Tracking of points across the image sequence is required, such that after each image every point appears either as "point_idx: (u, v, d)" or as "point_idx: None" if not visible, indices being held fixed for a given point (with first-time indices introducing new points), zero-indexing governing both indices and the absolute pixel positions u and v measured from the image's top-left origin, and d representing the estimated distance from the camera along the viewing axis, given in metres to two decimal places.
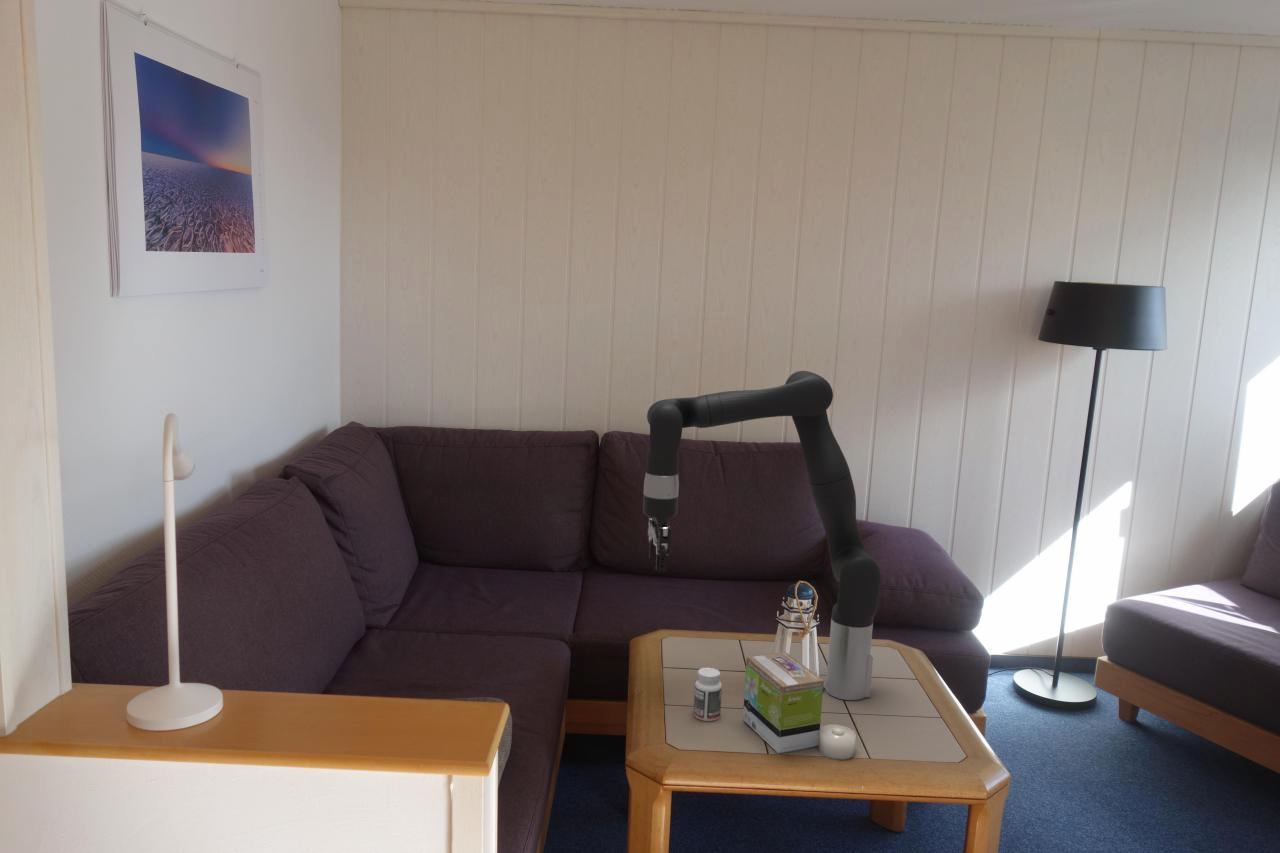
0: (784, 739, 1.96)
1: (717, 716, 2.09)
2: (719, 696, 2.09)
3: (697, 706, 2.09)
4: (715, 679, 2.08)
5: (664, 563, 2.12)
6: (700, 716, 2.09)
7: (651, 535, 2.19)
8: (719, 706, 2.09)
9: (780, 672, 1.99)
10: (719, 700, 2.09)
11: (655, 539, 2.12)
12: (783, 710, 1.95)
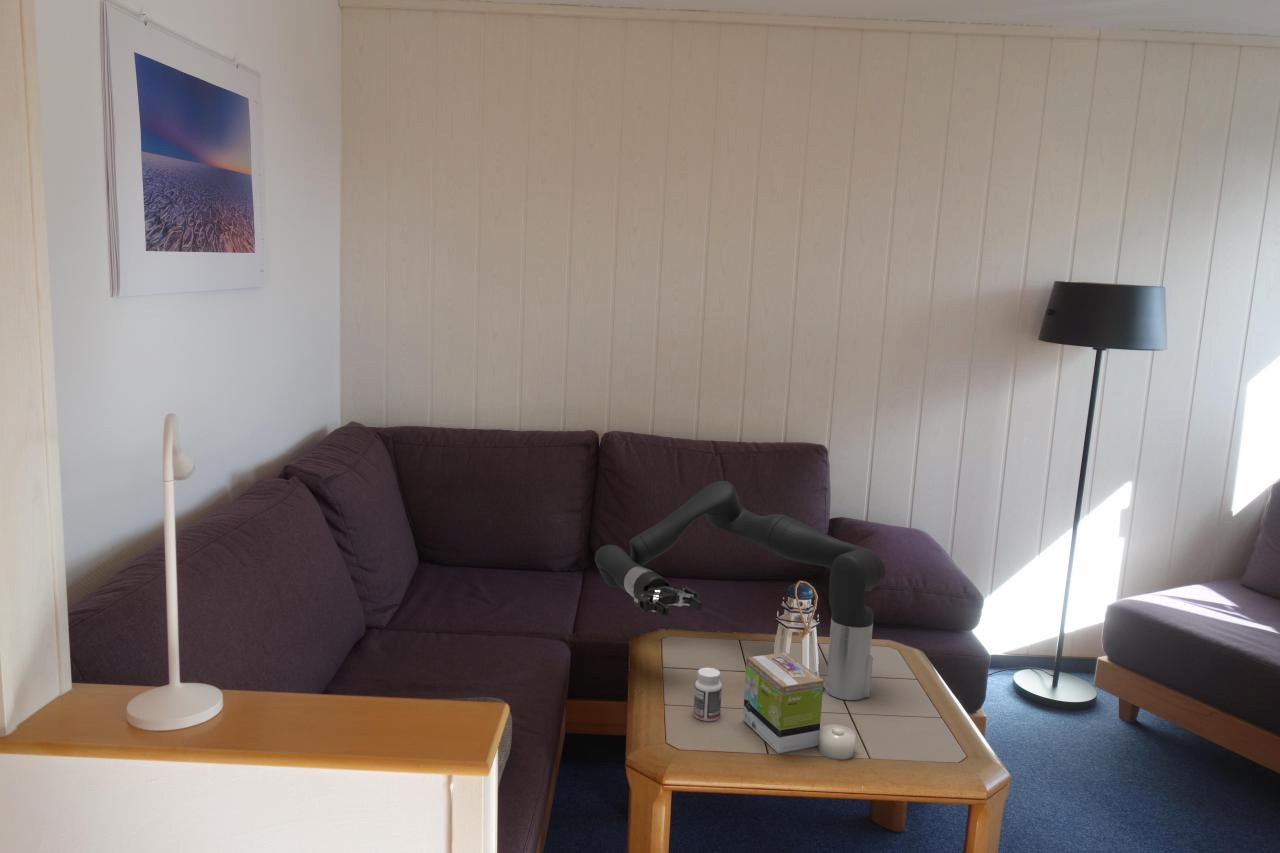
0: (784, 739, 1.96)
1: (717, 716, 2.09)
2: (719, 696, 2.09)
3: (697, 706, 2.09)
4: (715, 679, 2.08)
5: None
6: (700, 716, 2.09)
7: (658, 597, 2.21)
8: (719, 706, 2.09)
9: (780, 672, 1.99)
10: (719, 700, 2.09)
11: None
12: (783, 710, 1.95)
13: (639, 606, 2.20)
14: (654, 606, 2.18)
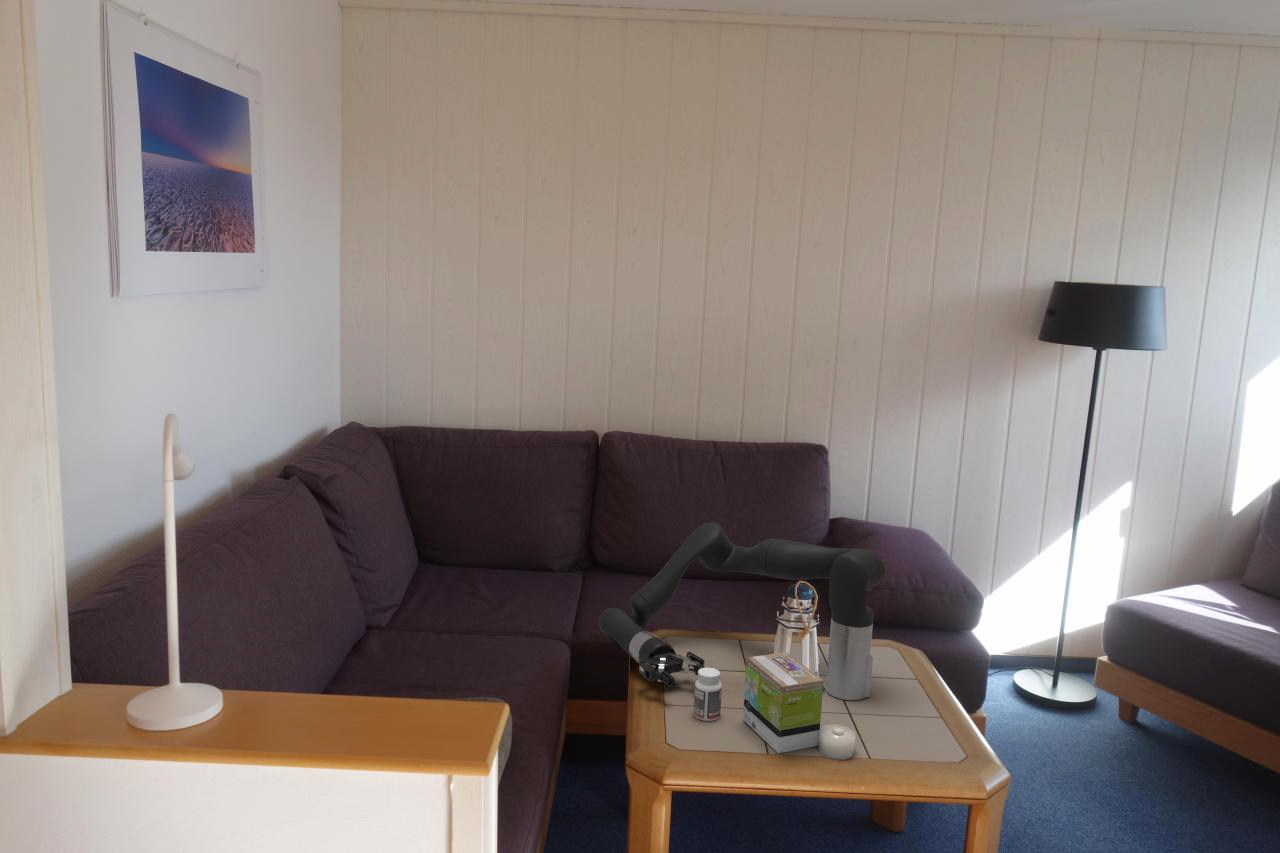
0: (784, 739, 1.96)
1: (717, 716, 2.09)
2: (719, 696, 2.09)
3: (697, 706, 2.09)
4: (715, 679, 2.08)
5: None
6: (700, 716, 2.09)
7: (664, 666, 2.19)
8: (719, 706, 2.09)
9: (780, 672, 1.99)
10: (719, 700, 2.09)
11: None
12: (783, 710, 1.95)
13: (645, 675, 2.19)
14: (660, 676, 2.16)
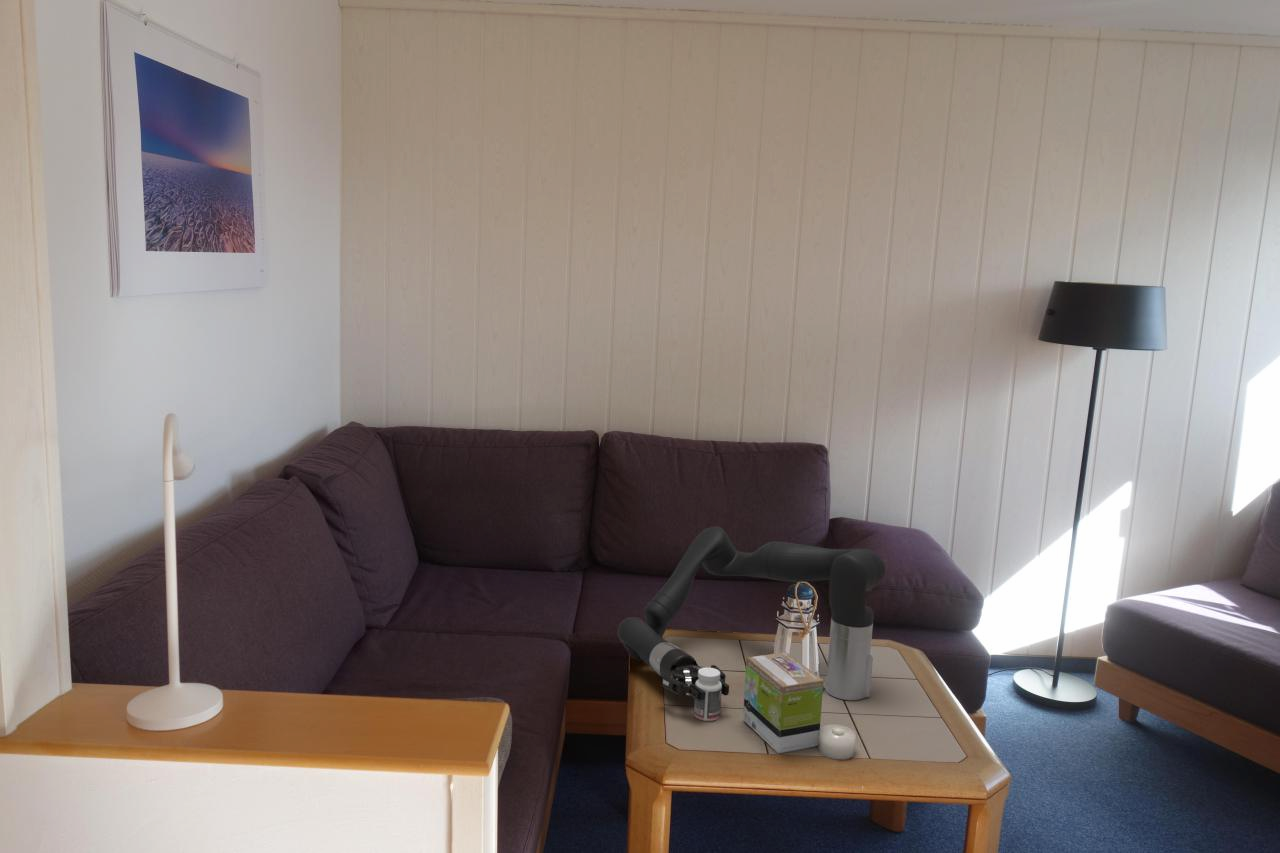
0: (784, 739, 1.96)
1: (717, 716, 2.09)
2: (719, 696, 2.09)
3: (697, 706, 2.09)
4: (715, 679, 2.08)
5: None
6: (700, 716, 2.09)
7: None
8: (719, 706, 2.09)
9: (780, 672, 1.99)
10: (719, 700, 2.09)
11: None
12: (783, 710, 1.95)
13: (671, 689, 2.11)
14: (688, 689, 2.09)
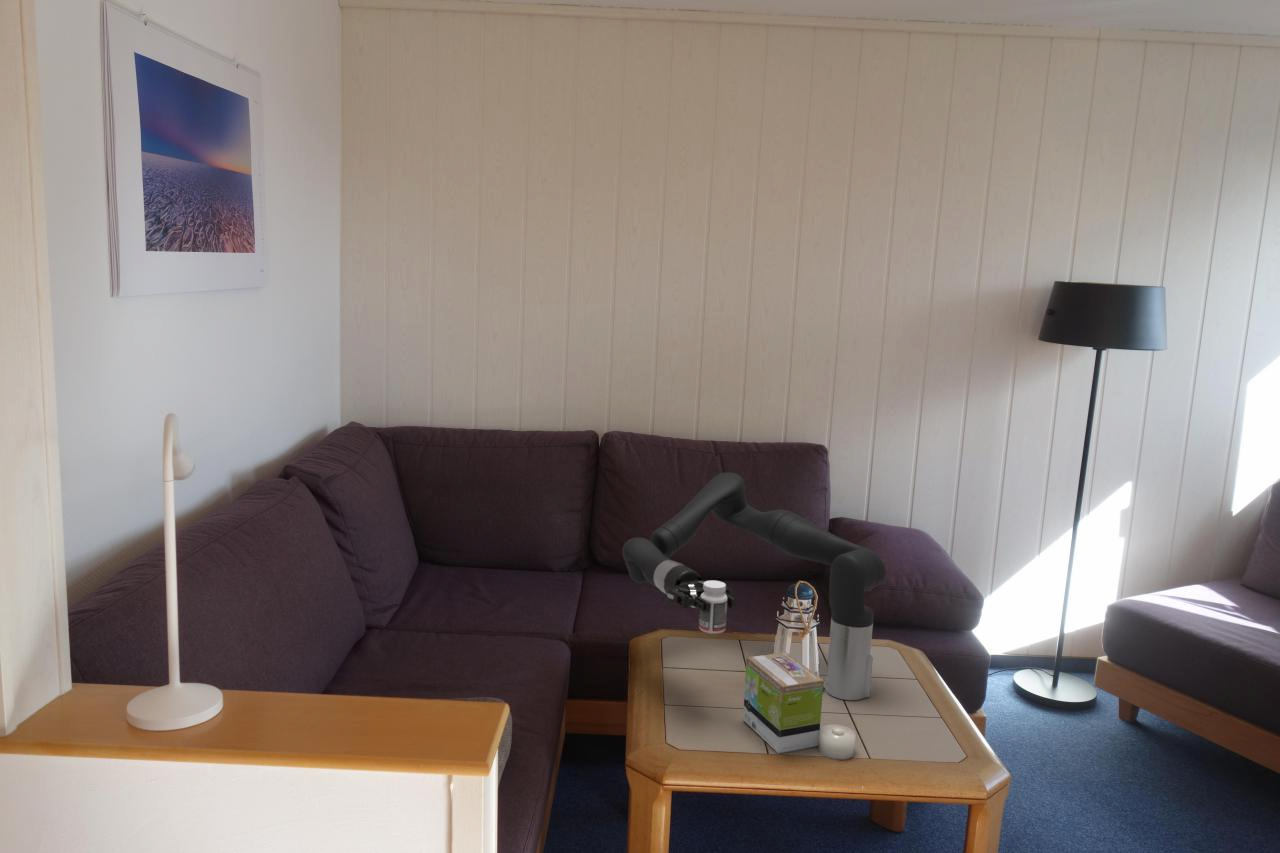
0: (784, 739, 1.96)
1: (723, 629, 2.06)
2: (725, 608, 2.06)
3: (703, 618, 2.06)
4: (721, 590, 2.05)
5: None
6: (705, 629, 2.06)
7: None
8: (725, 619, 2.06)
9: (780, 672, 1.99)
10: (725, 612, 2.06)
11: None
12: (783, 710, 1.95)
13: (676, 602, 2.08)
14: (694, 601, 2.06)
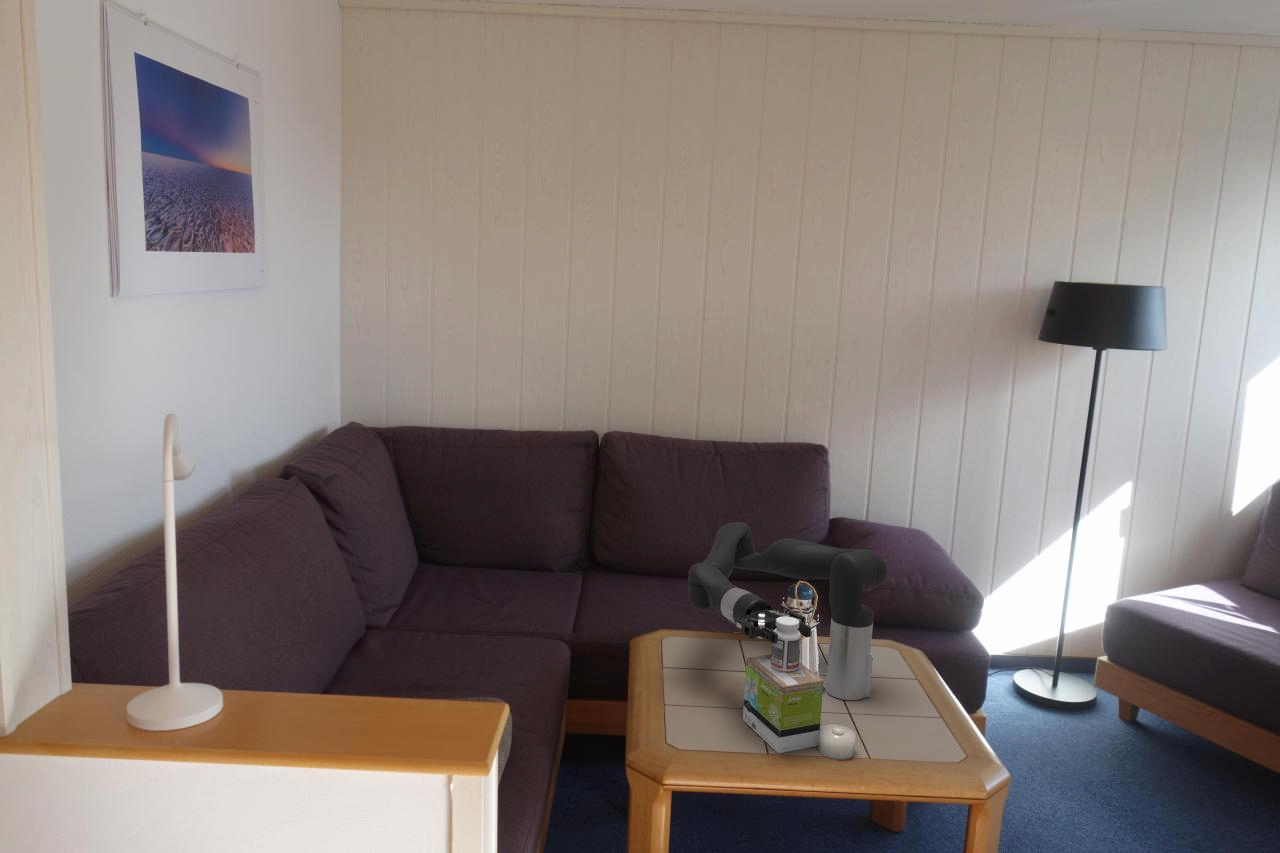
0: (784, 739, 1.96)
1: (796, 666, 2.00)
2: (798, 645, 2.00)
3: (776, 656, 2.00)
4: (795, 627, 1.99)
5: None
6: (778, 666, 2.00)
7: (764, 622, 2.03)
8: (798, 656, 2.00)
9: (780, 673, 1.99)
10: (798, 649, 2.00)
11: None
12: (783, 710, 1.95)
13: (743, 632, 2.02)
14: (761, 632, 2.00)
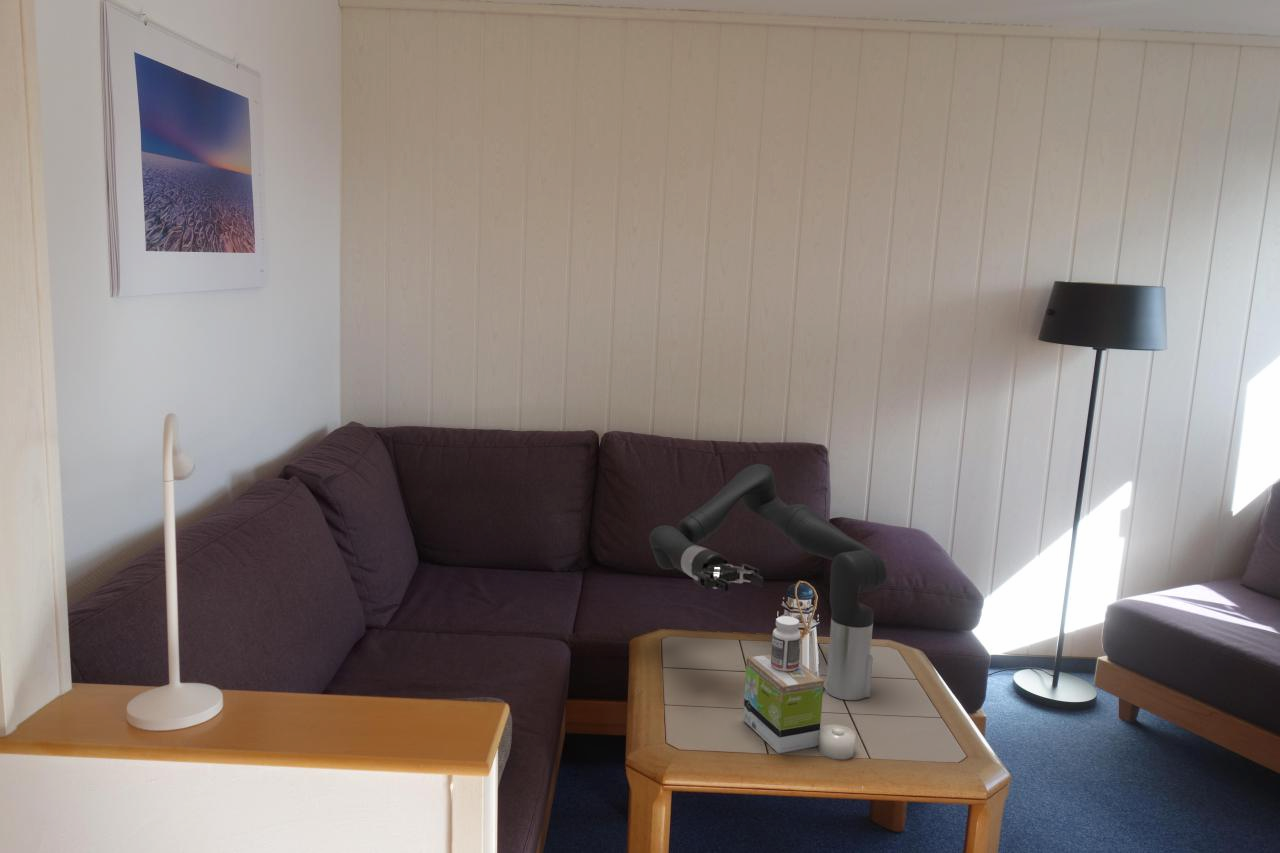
0: (784, 739, 1.96)
1: (796, 666, 2.00)
2: (798, 645, 2.00)
3: (776, 656, 2.00)
4: (795, 627, 1.99)
5: None
6: (778, 666, 2.00)
7: (719, 574, 2.16)
8: (798, 656, 2.01)
9: (780, 672, 1.99)
10: (798, 649, 2.00)
11: None
12: (783, 710, 1.95)
13: (699, 584, 2.15)
14: (715, 583, 2.13)
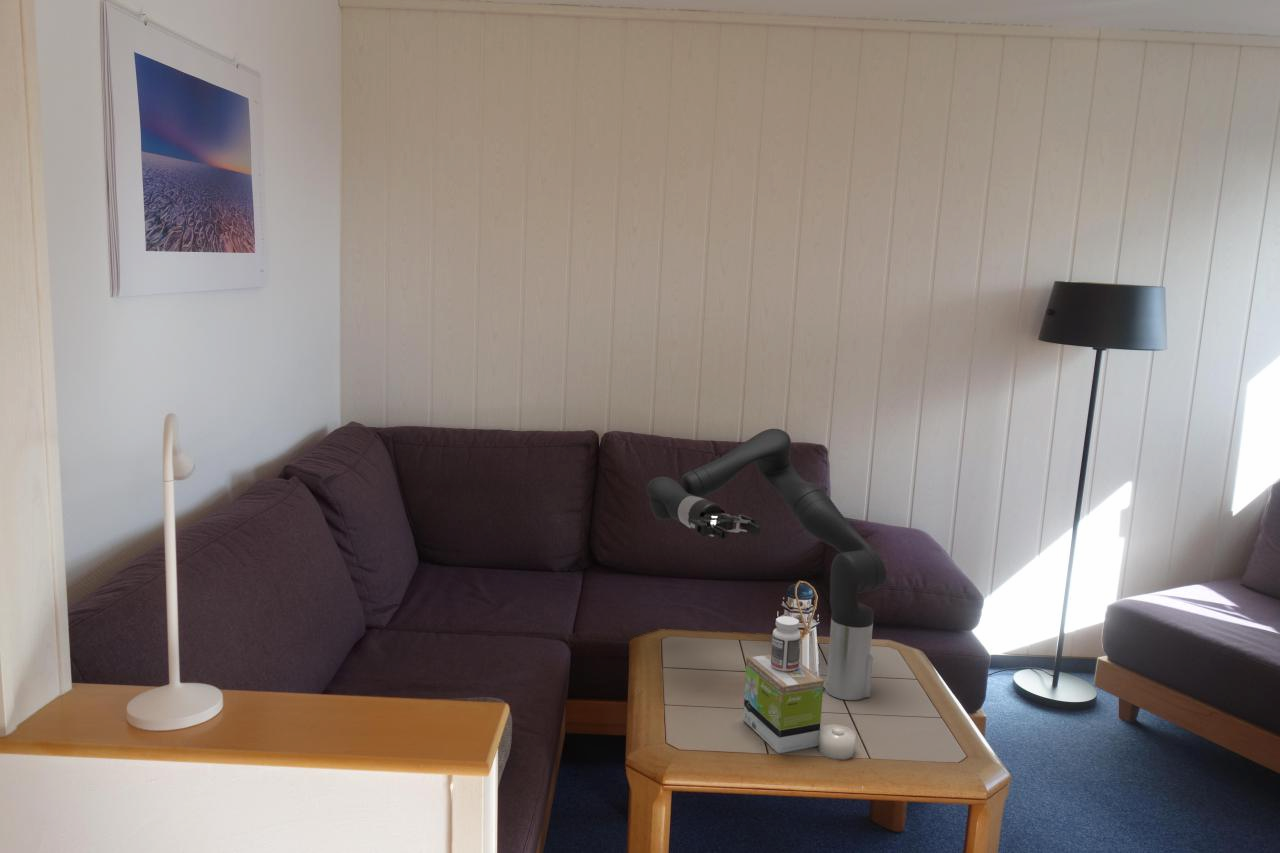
0: (784, 739, 1.96)
1: (796, 666, 2.00)
2: (798, 645, 2.00)
3: (776, 656, 2.00)
4: (795, 627, 1.99)
5: None
6: (778, 666, 2.00)
7: (716, 522, 2.17)
8: (798, 656, 2.01)
9: (780, 673, 1.99)
10: (798, 649, 2.00)
11: None
12: (783, 710, 1.95)
13: (696, 531, 2.16)
14: (712, 530, 2.14)
